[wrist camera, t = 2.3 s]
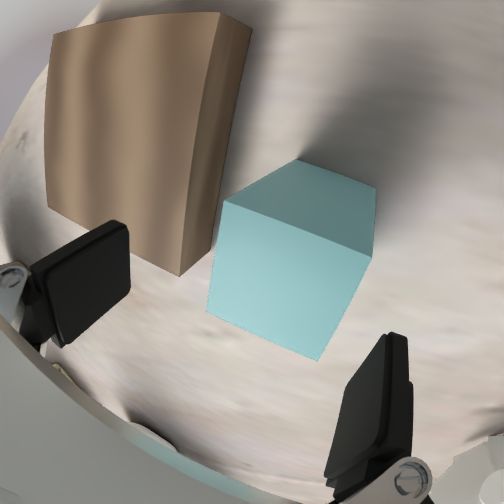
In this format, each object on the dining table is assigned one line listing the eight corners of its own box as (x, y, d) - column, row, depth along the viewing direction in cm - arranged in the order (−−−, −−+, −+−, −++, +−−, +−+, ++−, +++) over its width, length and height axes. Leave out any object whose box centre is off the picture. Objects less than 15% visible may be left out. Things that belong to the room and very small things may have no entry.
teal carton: (376, 188, 16) (371, 257, 8) (347, 260, 18) (317, 361, 11) (295, 159, 17) (223, 200, 10) (276, 231, 20) (206, 311, 12)
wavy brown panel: (252, 29, 14) (220, 12, 11) (209, 251, 23) (179, 277, 19) (89, 35, 18) (53, 34, 15) (78, 193, 26) (47, 206, 23)
